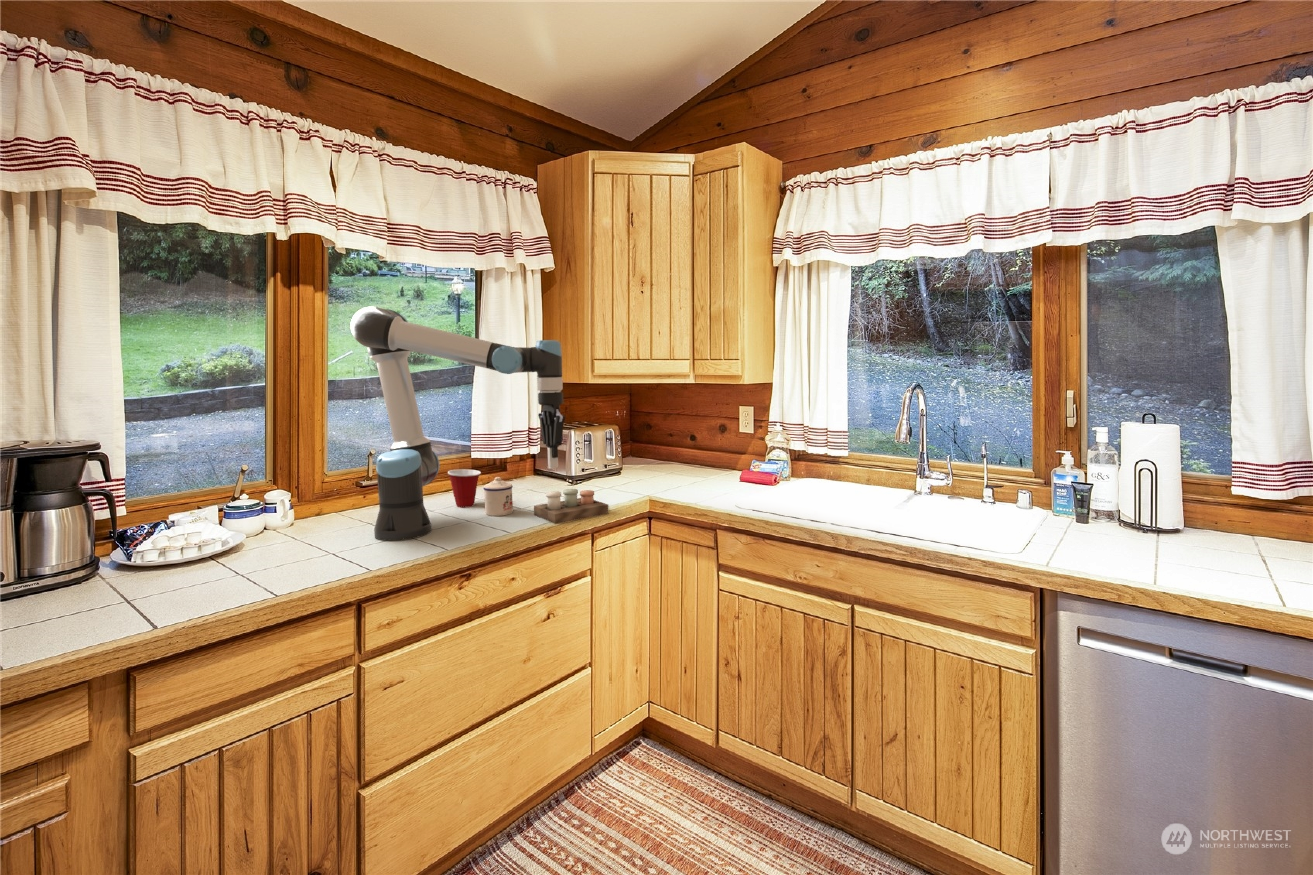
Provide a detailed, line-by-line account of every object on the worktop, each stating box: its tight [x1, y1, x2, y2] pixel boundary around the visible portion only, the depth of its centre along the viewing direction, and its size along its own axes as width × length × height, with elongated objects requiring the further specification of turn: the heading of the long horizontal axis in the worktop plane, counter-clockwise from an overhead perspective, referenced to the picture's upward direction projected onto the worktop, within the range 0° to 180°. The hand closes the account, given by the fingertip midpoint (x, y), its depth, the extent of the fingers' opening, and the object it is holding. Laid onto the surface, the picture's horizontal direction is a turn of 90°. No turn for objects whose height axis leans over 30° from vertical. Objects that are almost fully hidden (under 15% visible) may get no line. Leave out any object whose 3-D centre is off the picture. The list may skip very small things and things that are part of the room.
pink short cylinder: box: [579, 489, 595, 505], centre depth 199 cm, size 5×5×5 cm
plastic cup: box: [447, 468, 482, 508], centre depth 209 cm, size 11×11×12 cm
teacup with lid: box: [483, 476, 514, 517], centre depth 199 cm, size 12×9×12 cm
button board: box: [533, 497, 609, 525], centre depth 195 cm, size 19×14×3 cm
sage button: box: [562, 488, 579, 508], centre depth 195 cm, size 5×5×5 cm
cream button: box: [545, 490, 562, 511], centre depth 191 cm, size 5×5×5 cm
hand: (553, 467), depth 190 cm, fingers closed
